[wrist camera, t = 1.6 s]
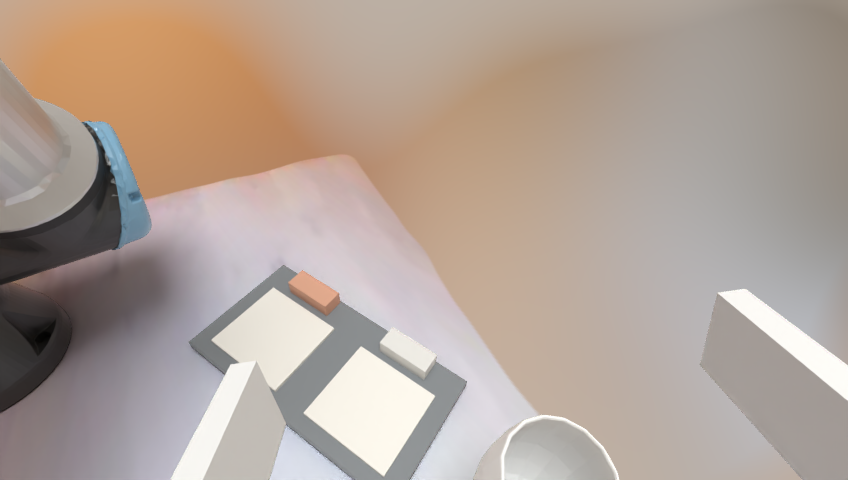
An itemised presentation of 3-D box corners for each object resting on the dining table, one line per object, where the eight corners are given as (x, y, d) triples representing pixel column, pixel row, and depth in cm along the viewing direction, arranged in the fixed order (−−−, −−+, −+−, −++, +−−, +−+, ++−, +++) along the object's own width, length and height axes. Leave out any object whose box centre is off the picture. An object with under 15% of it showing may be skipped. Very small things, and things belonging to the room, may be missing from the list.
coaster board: (192, 347, 45) (181, 333, 43) (285, 270, 54) (280, 255, 51) (391, 510, 36) (391, 503, 33) (465, 386, 44) (469, 373, 42)
